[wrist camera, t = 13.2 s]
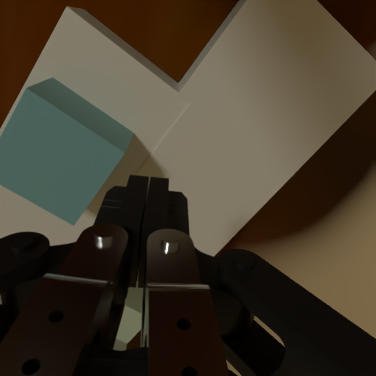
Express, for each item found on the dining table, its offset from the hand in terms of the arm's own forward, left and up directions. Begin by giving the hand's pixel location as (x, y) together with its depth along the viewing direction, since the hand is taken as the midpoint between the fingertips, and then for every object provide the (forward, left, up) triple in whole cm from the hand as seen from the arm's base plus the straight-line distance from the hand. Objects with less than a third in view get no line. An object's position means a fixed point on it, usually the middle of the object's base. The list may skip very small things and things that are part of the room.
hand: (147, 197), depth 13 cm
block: (-4, -5, -11) cm, 12 cm away
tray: (+1, -4, -14) cm, 15 cm away
